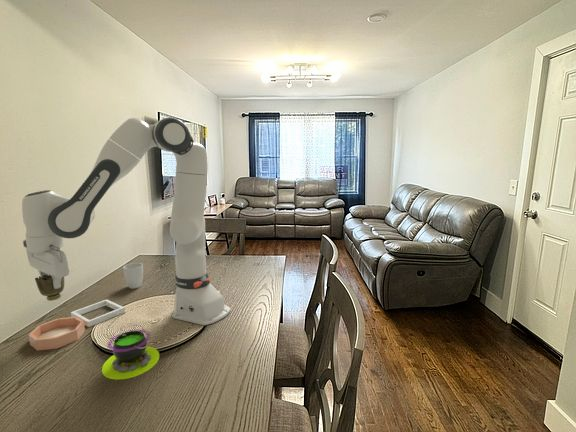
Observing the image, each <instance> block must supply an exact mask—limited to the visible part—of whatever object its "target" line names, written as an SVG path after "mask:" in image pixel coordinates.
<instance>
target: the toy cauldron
mask: <svg viewBox="0 0 576 432" xmlns="http://www.w3.org/2000/svg"><path fill="white" fill-rule="evenodd" d="M125 325H126V324H123V325H122V326H120V328H119V329H117V330H116V332H119V331H120V333H117V334H116V335H115V333H116V332H113V336H112V338H110V339H109V340H108V341H107V344H106V348H107V350H109V351H111V352H112V353H113V355H111V356H110V357H109V358H108V359H107V360H105V362H104V363H103V364H102V367H101V368H102V369H101V373H102V375H103V376H104V377H105V378H107V379H111V380H116V381H117V380H128V379H131V378H135V377H137V376H141V375H142V374H144V373H146V372H148V371H150V370H151V369H152V368H153V367H154V366H155V365H156V364H157V363H158V362H159V360H160V352H159V351H158V349H157V348H154V347H152V346H148V342H149V341H150V340H151V337H152V334H151V332H150V331H148V330H146V329H144V327H143V326H141V325H137V324H132V325H131V323H130V322H129V323H128V326H125ZM132 326H134V327H133V329H132V328H131V329H129V330H123V329H124V328H128V327H132ZM136 327H140V328H142V329H139V328H138V329H136ZM144 333H145V334H146V336H145V334H144ZM112 343H113V345H112Z"/></svg>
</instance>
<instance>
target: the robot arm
mask: <svg viewBox="0 0 576 432" xmlns="http://www.w3.org/2000/svg"><path fill="white" fill-rule="evenodd" d="M152 148H156V149H158V150H161V151H165V152H169V153H170V152H171V153H172V154H173V155H174V157H175V161H176V163H175V164H176V166H175V180H174V181H175V182H174V195H173V201H172V207H171V215H170V223H169V235H170V237H171V239H172V240H173V241H174V242H175V254H174V259H175V260H174V261H175V276H174V277H175V278H174V283H175V286H176V290H175V293H174V306H173V308H174V309H173V310H174V311H173V313H172V316H171V317H172V319H175V320H180V321H184V322H187V323H188V322H189V323H192V324H197V325H200V326H207V325H210V324H211V325H212V324H214V323H216V322H218V321H220V320H222V319H223V318H225V317H227V316H228V315H229V314H230V313H231V311H232V308H231V307H229V306H228V305H226V304H225V301H224V297H223V294H221V291H220V290H217V289H216V288H215V287H214V286H213V284H212V283H211V281H212V276H209V274H208V272H207V262H206V261H207V259H206V218H205V214H204V213H205V205H206V204H205V203H206V197H207V187H208V185H207V184H208V166H209V165H208V163H209V162H208V155H207V154H208V153H207V149H206V147H205V146H204V145H202V144H201V143H199V142H196V141H194V138H193V136H192V135H191V133H190V130H189V128H188V126H187V125H186V124H185V123H184V122H183V121H182V120H180V119H178V118H176V117H171V116H170V117H166V118H165V117H164V118H161V119H160V120H158V121H157V122H155V123H153V124H149V123H147V122H145V120H142V119H140V118H135V117H130V118H128V119H127V120H125V121H124V122H123V123H122V124H121V125H120V126H119V127H118V128H117V129H115V131H114V132H113V133H112V134H111V135H110V137H108V139H107V140H106V142H105V143H104V145H103V146H102V148H101V150H100V152H99V154H98V156H97V158H96V161H95V163H94V165H93V167H92V170H91V172H90V173H89V175H88V176H87V178H86V179H85V180H84V181H83V183H82V184H81V185H80V187H79V188H78V189H77V191H75V193H74V194H73V196H72V197H67V196H64V195H61V194H59V193H57V192H55V191H54V190H50V189H49V190H47V189H46V190H41V191H40V190H39V191H36V192H31V193H28V194H26V195H25V196H24V197H23V198H22V202H21V212H22V213H21V214H22V221H23V224H24V225H25V228H26V230H25V239H24V240H22V243H23V244H22V245H23V247H24V248H25V250H26V255H27V258H28V263H29V265H30V266H31V267H32V269H35V270H37V271H38V274H39V276H40V277H41V278H42V276H43V275H50V276H52V279H53V283H52V286H53V288H55V289H57V288H60V287H61V279H62V277H64V278H65V277H68V276H69V275H70V268H69V262H68V257H67V255H66V252H64V251H63V250H61V248H63V247H64V240H63V239H77V238H79V237H81V236H83V235H84V234H85V233H86V232H87V230H88V229H89V227H90V225H91V224H92V222H93V220H94V218H95V208H96V206H97V205H98V204H99V202H100V201H101V199H102V198H103V197H104V195H106V193H107V192H108V191H109V189H110V188H111V187H112V186H113V185H114V184H116V183H117V182H118V181H120V180H121V179H122V178H124V177H126V176H127V175H128V174H129V173H131V171H132V170H133V169H134V168H135V167H136V166H138V164H139V163H140V161H141V160H142V159H143V158H144V156H145V154H146V153H147V152H148V151H149V150H150V149H152ZM48 278H49V277H46V278H43V279H44V280H46V279H47V280H48Z"/></svg>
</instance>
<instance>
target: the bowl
mask: <svg viewBox="0 0 576 432" xmlns="http://www.w3.org/2000/svg"><path fill="white" fill-rule="evenodd" d="M85 327H86V326H85V325H84V321H83V320H81V319H79V318H78V317H71V316H70V317H61V318H60V317H59V318H56V319H53V320H50V321H47V322H45V323H42V324H39V325H37V326H36V327H35V328H34V329H33V330H32V331H30V333H28V341H29V346H31V347H33V348H34V349H35V350H36V351H43V350H45V351H46V350H55V349H59V348H62V347H65V346H67V345H69V344H71V343H74V342H76V341H78V340H79V339H80V338H81V337H82V335H83V334H84V333H85V332H86V328H85Z"/></svg>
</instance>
